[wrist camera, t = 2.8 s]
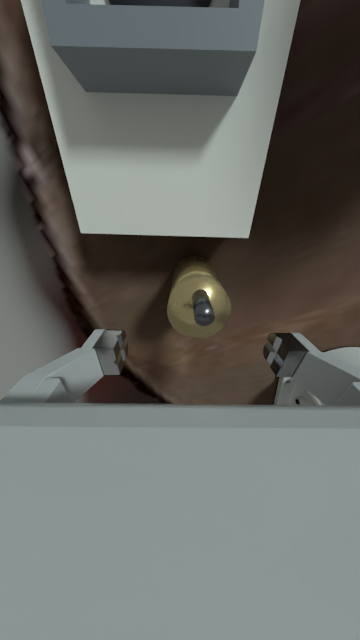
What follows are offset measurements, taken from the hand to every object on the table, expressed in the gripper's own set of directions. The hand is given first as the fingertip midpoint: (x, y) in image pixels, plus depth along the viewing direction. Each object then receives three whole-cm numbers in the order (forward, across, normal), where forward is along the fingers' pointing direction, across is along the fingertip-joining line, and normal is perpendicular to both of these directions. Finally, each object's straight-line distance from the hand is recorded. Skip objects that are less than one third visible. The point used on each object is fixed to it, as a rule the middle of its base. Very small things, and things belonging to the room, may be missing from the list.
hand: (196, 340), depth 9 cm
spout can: (+14, -1, 0) cm, 14 cm away
